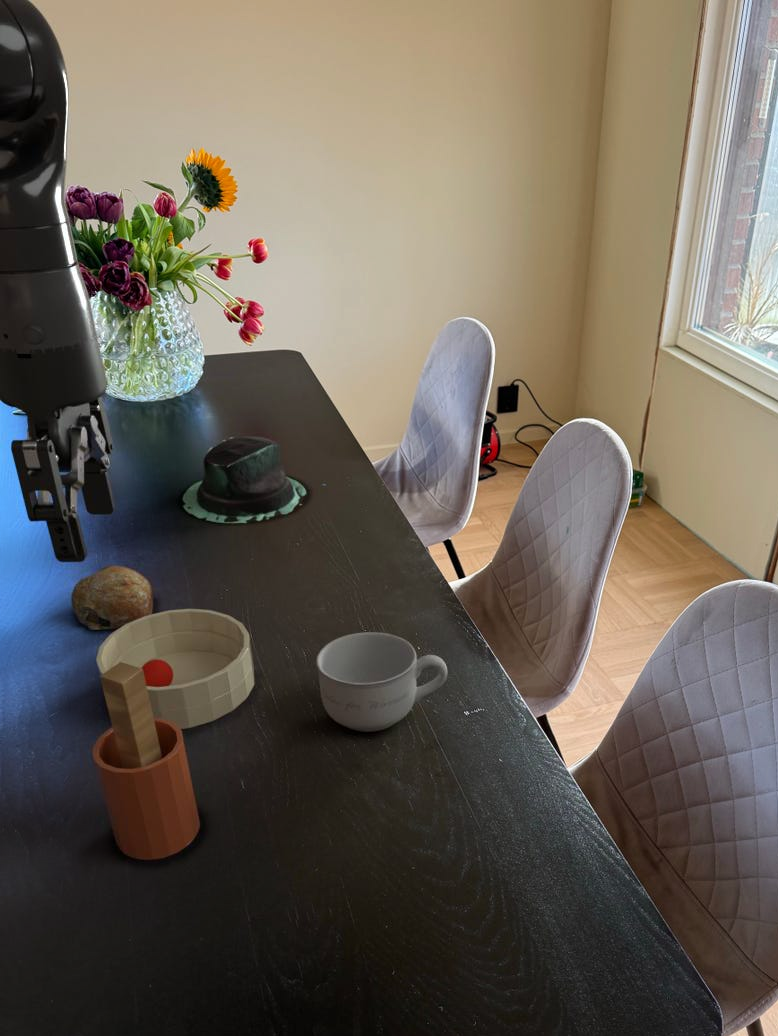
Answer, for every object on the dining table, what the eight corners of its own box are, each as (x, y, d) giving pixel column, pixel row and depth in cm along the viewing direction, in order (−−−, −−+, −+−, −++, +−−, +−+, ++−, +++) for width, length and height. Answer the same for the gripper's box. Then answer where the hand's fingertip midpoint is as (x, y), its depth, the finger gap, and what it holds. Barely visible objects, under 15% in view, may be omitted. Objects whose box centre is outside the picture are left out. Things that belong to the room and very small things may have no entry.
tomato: (135, 692, 100) (129, 666, 98) (157, 675, 103) (152, 650, 101) (161, 700, 99) (155, 674, 97) (182, 683, 102) (177, 658, 100)
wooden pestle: (119, 838, 81) (76, 680, 72) (155, 805, 85) (119, 650, 75) (161, 855, 80) (123, 695, 70) (196, 820, 84) (164, 664, 74)
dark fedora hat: (272, 528, 135) (154, 515, 139) (318, 535, 153) (213, 524, 157) (281, 429, 134) (162, 418, 138) (327, 448, 152) (221, 439, 156)
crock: (99, 848, 81) (73, 756, 75) (155, 797, 87) (134, 708, 81) (164, 874, 79) (141, 782, 73) (216, 820, 84) (200, 731, 78)
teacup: (308, 738, 95) (302, 678, 91) (336, 680, 104) (332, 623, 100) (436, 753, 94) (436, 692, 89) (452, 693, 103) (453, 635, 98)
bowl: (75, 709, 98) (63, 665, 95) (173, 638, 111) (165, 597, 107) (193, 751, 93) (184, 705, 90) (282, 671, 105) (277, 629, 102)
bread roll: (75, 647, 115) (52, 613, 108) (92, 582, 120) (71, 546, 113) (153, 647, 115) (135, 614, 108) (166, 583, 120) (149, 547, 114)
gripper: (18, 307, 69) (66, 500, 78) (-58, 358, 57) (9, 579, 66) (118, 308, 69) (154, 498, 78) (63, 359, 58) (113, 577, 66)
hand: (88, 535), depth 72 cm, fingers open, 8 cm apart
